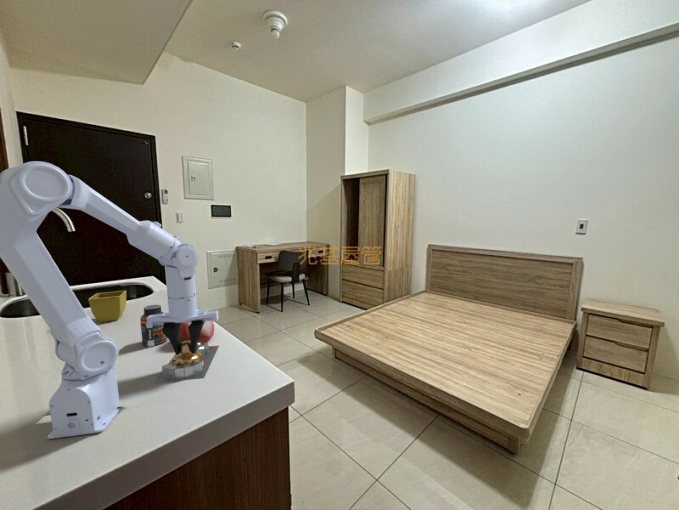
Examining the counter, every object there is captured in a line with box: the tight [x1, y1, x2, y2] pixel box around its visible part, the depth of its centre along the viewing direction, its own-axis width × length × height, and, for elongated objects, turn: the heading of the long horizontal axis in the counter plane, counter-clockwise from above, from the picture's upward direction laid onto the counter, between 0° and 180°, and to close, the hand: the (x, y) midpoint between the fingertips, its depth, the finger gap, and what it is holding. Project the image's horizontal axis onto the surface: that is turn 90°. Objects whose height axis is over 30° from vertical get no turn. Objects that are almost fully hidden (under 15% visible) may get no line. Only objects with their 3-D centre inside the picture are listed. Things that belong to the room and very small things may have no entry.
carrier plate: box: [153, 345, 220, 384], centre depth 70 cm, size 16×10×1 cm, turn 12°
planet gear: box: [171, 340, 203, 366], centre depth 67 cm, size 6×6×5 cm
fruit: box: [181, 321, 215, 343], centre depth 81 cm, size 9×10×10 cm
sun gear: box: [197, 341, 210, 356], centre depth 74 cm, size 6×6×2 cm
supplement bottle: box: [139, 304, 168, 348], centre depth 80 cm, size 6×6×11 cm
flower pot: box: [88, 290, 127, 323], centre depth 101 cm, size 9×9×9 cm
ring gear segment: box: [161, 361, 203, 379], centre depth 64 cm, size 3×8×2 cm, turn 102°
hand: (186, 352), depth 67 cm, fingers closed on planet gear, 3 cm apart
